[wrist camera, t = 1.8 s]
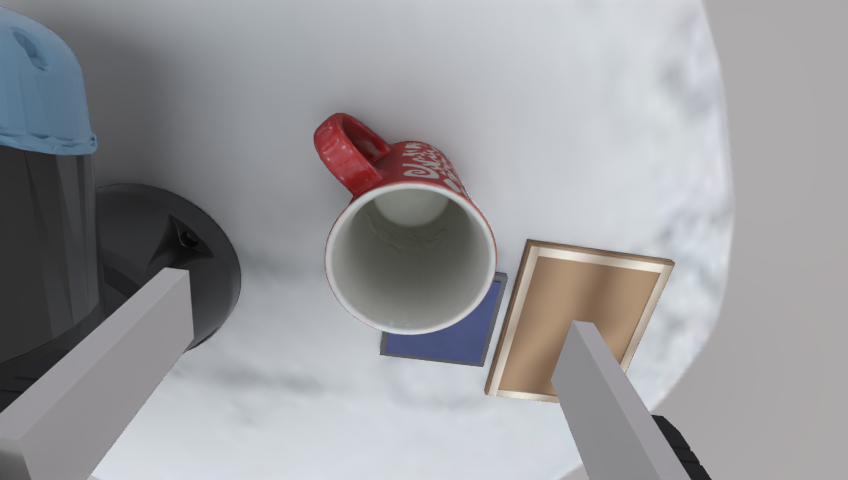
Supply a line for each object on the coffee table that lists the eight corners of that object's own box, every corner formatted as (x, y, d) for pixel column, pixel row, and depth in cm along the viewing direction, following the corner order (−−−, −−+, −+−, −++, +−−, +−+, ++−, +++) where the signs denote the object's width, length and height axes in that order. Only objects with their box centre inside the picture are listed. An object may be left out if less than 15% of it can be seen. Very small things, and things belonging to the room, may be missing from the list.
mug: (489, 203, 35) (527, 288, 23) (396, 255, 37) (386, 361, 25) (405, 61, 31) (397, 74, 18) (304, 129, 33) (237, 182, 20)
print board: (484, 390, 44) (485, 396, 43) (527, 239, 37) (529, 243, 36) (606, 404, 45) (610, 410, 44) (671, 260, 38) (676, 264, 37)
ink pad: (380, 350, 41) (379, 356, 41) (393, 258, 37) (393, 263, 36) (482, 362, 42) (483, 368, 41) (506, 273, 38) (508, 278, 37)
